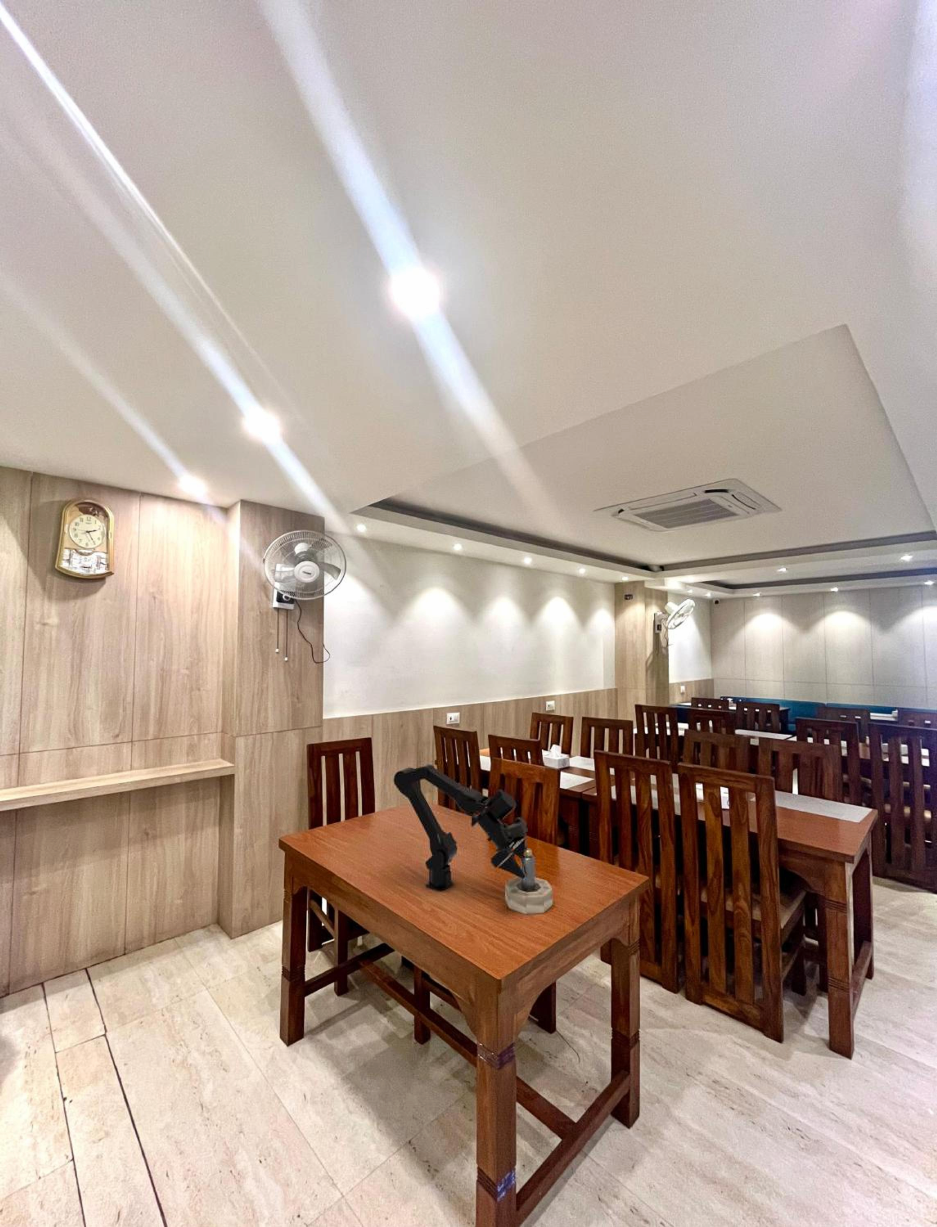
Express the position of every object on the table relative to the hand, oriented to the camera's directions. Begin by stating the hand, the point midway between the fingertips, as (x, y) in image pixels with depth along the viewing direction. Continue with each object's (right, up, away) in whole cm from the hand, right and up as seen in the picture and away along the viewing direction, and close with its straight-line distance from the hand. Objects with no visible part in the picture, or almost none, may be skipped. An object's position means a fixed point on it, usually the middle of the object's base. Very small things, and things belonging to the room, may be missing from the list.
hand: (528, 871), depth 149 cm
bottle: (0, -9, -1) cm, 9 cm away
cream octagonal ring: (0, -9, -1) cm, 9 cm away
